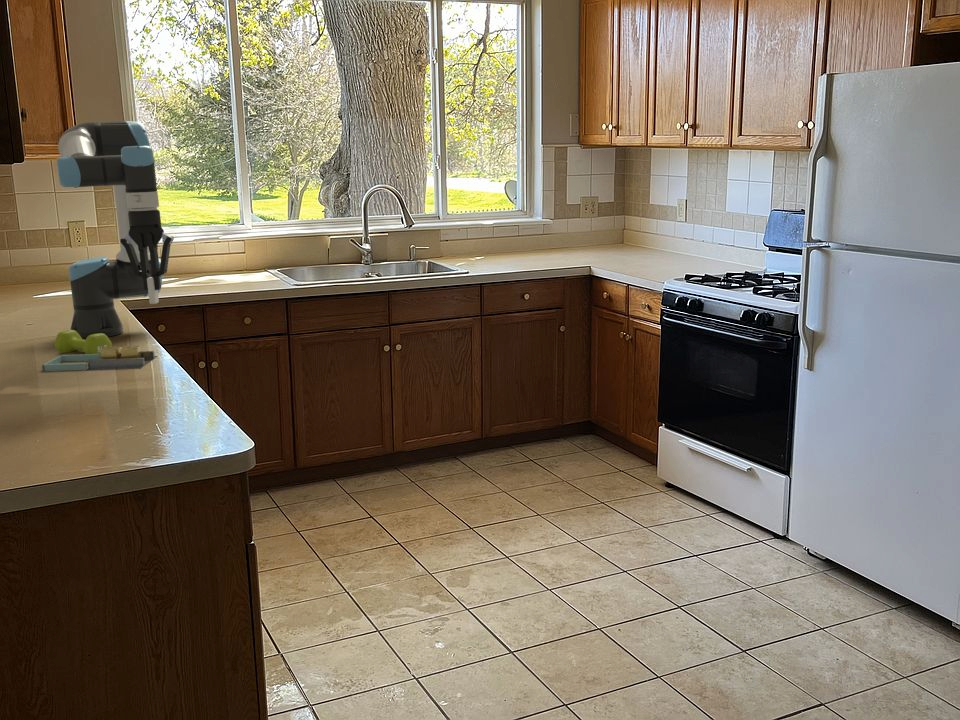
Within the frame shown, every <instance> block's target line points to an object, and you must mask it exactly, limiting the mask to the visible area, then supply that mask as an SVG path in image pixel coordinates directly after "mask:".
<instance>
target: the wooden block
mask: <svg viewBox="0 0 960 720" xmlns="http://www.w3.org/2000/svg"><path fill="white" fill-rule="evenodd" d="M121 349H122V346H112V347H105V348H103V349H102V350H100V355H101V359H122V357H121Z"/></svg>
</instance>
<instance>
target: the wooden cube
mask: <svg viewBox="0 0 960 720" xmlns="http://www.w3.org/2000/svg"><path fill="white" fill-rule="evenodd" d="M140 351H141V347H140V345H134V346H133V345H132V346H131V345H130V346H127V345H126V346H122V347H121V357H122V359H124V358H141V355H140Z"/></svg>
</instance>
